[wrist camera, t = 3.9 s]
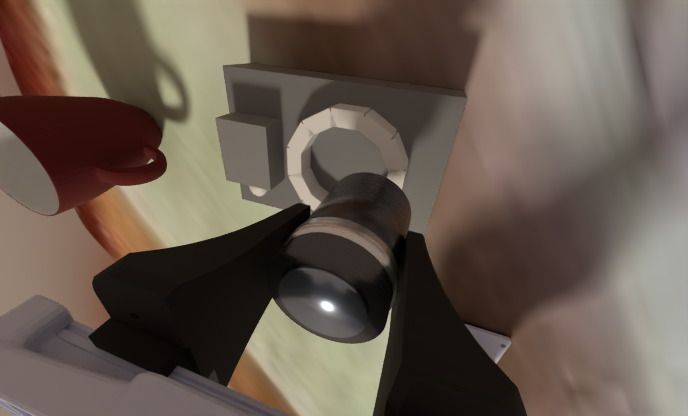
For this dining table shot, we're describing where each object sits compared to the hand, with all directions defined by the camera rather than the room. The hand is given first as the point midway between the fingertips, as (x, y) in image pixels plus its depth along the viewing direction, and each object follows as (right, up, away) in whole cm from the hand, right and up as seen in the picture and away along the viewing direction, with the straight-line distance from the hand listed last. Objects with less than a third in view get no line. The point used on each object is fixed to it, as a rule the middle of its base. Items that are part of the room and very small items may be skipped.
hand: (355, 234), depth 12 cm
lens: (+1, +1, +2) cm, 2 cm away
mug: (-19, +9, +14) cm, 25 cm away
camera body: (-1, +6, +8) cm, 10 cm away
